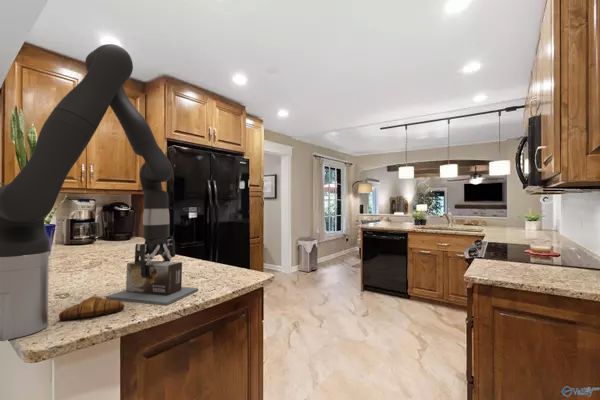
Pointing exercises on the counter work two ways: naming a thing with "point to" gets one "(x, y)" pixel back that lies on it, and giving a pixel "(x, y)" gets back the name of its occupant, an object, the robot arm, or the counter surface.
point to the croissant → (91, 308)
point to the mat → (152, 296)
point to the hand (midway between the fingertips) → (156, 274)
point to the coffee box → (155, 278)
